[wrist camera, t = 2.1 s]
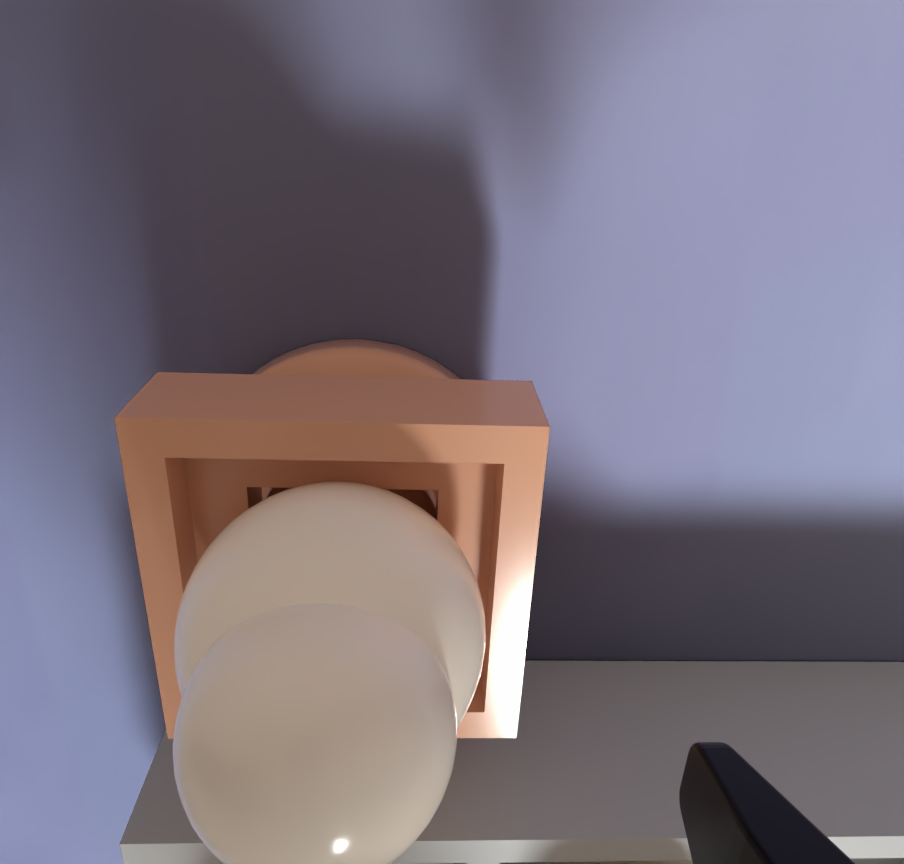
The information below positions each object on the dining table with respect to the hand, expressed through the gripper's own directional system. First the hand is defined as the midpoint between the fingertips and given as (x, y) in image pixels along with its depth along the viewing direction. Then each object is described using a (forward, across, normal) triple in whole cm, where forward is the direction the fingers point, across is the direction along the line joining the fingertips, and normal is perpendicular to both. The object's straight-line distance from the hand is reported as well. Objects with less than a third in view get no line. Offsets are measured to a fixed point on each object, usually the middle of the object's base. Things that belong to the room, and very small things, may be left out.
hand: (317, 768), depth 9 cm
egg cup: (+7, 0, 0) cm, 7 cm away
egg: (+4, 0, 0) cm, 5 cm away
